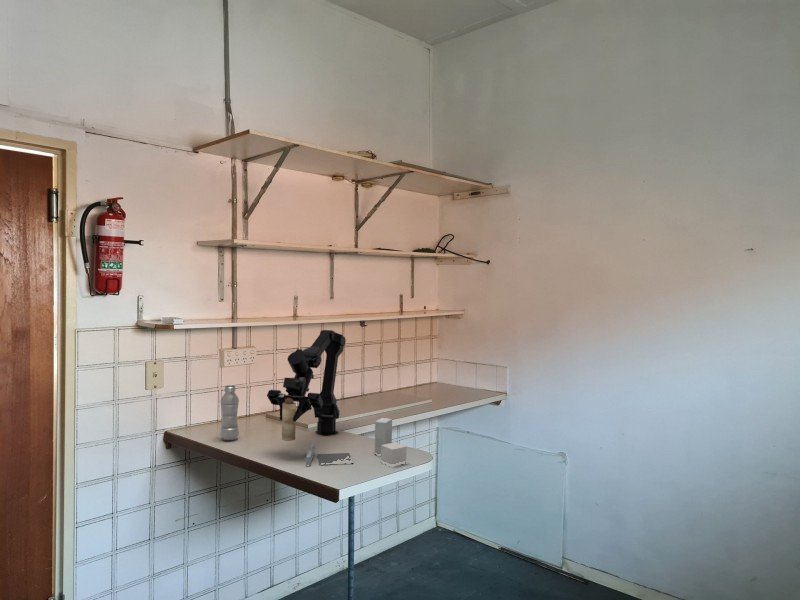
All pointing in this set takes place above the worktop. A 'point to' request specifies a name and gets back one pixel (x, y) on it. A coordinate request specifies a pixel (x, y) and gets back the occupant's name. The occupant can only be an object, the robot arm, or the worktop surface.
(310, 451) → the rail
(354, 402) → the worktop surface
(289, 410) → the mill
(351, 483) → the worktop surface
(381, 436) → the skincare box
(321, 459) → the mat
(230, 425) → the plastic bottle
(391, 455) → the grey cube
